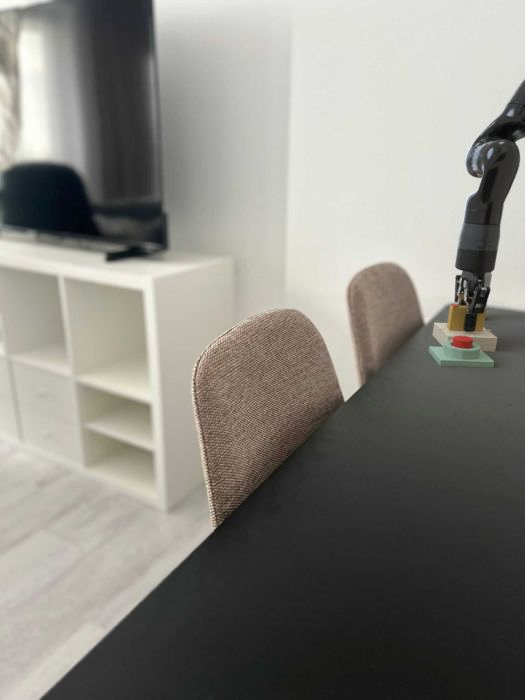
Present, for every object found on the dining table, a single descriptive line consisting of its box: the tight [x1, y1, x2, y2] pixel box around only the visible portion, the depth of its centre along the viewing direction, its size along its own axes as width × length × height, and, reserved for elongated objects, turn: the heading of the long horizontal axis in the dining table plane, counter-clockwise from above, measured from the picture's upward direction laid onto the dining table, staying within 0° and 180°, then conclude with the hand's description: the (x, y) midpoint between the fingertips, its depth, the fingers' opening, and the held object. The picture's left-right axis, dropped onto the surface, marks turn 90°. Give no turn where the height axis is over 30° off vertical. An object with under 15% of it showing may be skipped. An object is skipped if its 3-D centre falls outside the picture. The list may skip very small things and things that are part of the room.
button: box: [452, 336, 473, 349], centre depth 99 cm, size 4×4×2 cm
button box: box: [428, 340, 495, 368], centre depth 99 cm, size 10×8×3 cm
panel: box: [432, 322, 498, 352], centre depth 109 cm, size 11×11×3 cm
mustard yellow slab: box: [446, 303, 488, 331], centre depth 108 cm, size 7×2×5 cm, turn 88°
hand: (464, 327), depth 108 cm, fingers open, 4 cm apart
